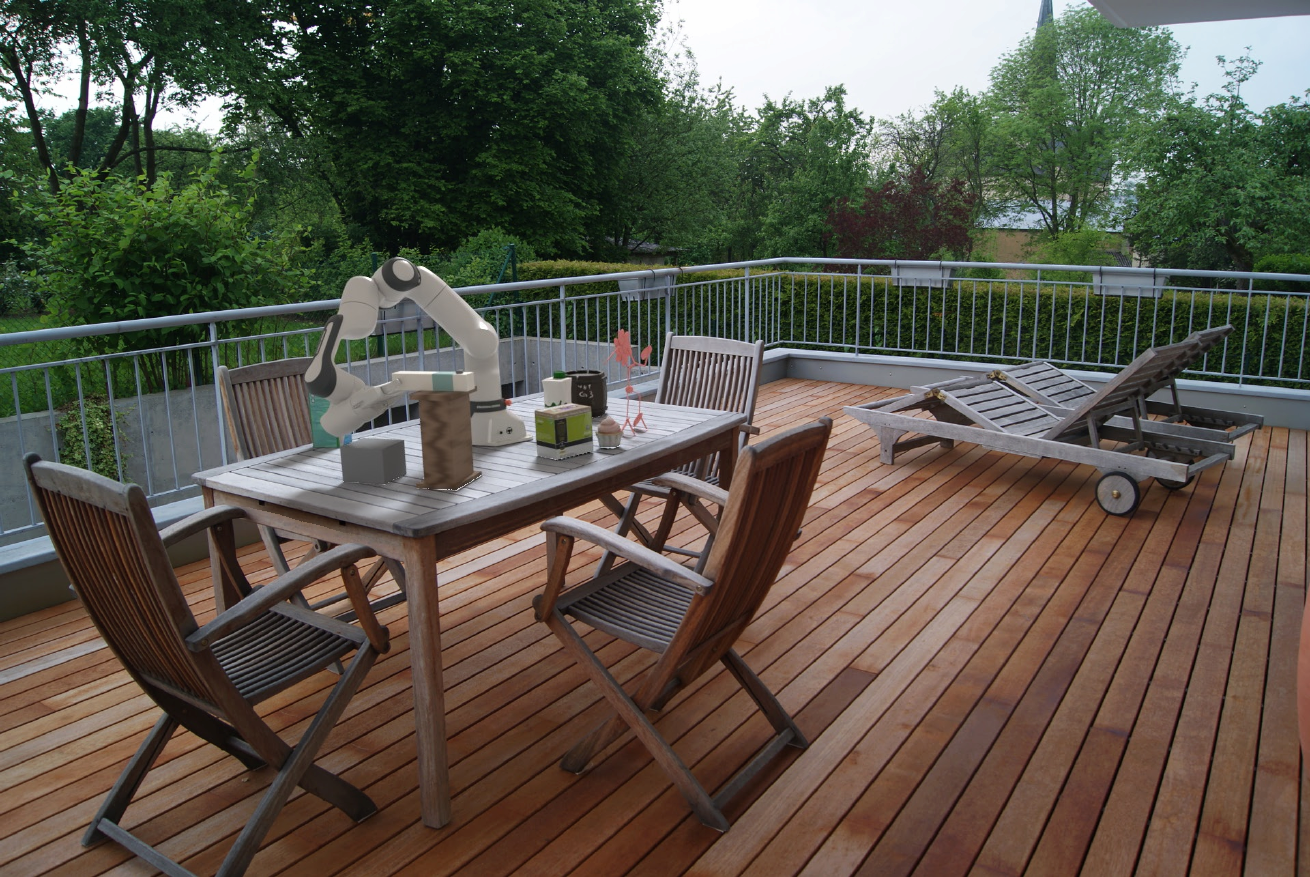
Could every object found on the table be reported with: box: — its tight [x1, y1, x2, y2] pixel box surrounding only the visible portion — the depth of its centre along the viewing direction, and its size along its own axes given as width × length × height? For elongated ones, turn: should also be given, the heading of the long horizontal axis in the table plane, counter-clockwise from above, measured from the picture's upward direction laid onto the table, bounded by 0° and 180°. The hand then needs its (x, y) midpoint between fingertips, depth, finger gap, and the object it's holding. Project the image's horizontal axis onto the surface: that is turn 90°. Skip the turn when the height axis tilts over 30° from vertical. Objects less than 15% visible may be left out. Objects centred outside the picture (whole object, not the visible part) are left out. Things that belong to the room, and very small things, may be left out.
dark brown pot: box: [564, 369, 609, 418], centre depth 353 cm, size 18×18×16 cm
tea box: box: [534, 403, 595, 461], centre depth 291 cm, size 15×10×15 cm
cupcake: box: [594, 415, 625, 448], centre depth 300 cm, size 9×9×10 cm
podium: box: [339, 437, 407, 485], centre depth 267 cm, size 13×12×10 cm
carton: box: [391, 369, 475, 391], centre depth 257 cm, size 22×5×5 cm, turn 75°
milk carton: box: [307, 391, 353, 449], centre depth 308 cm, size 9×9×25 cm
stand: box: [408, 385, 483, 490], centre depth 259 cm, size 12×16×26 cm
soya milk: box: [541, 370, 572, 409], centre depth 325 cm, size 9×9×20 cm
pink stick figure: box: [603, 328, 656, 435], centre depth 320 cm, size 15×26×35 cm, turn 154°
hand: (407, 378), depth 259 cm, fingers open, 7 cm apart
